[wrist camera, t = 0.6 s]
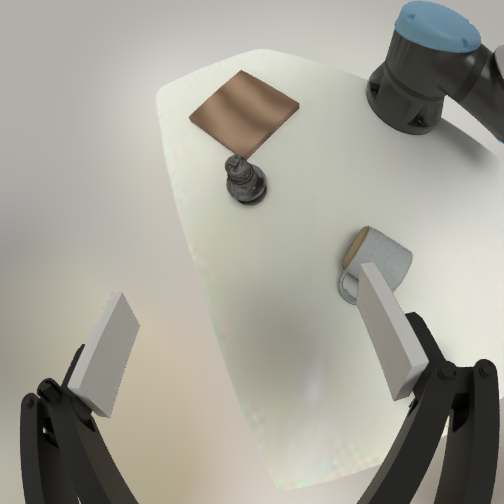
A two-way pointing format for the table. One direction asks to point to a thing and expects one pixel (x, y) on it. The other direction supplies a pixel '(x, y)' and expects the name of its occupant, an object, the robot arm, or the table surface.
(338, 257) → the table surface
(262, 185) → the weathered metal finial
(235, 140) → the walnut board
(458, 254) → the table surface
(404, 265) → the ceramic mug
